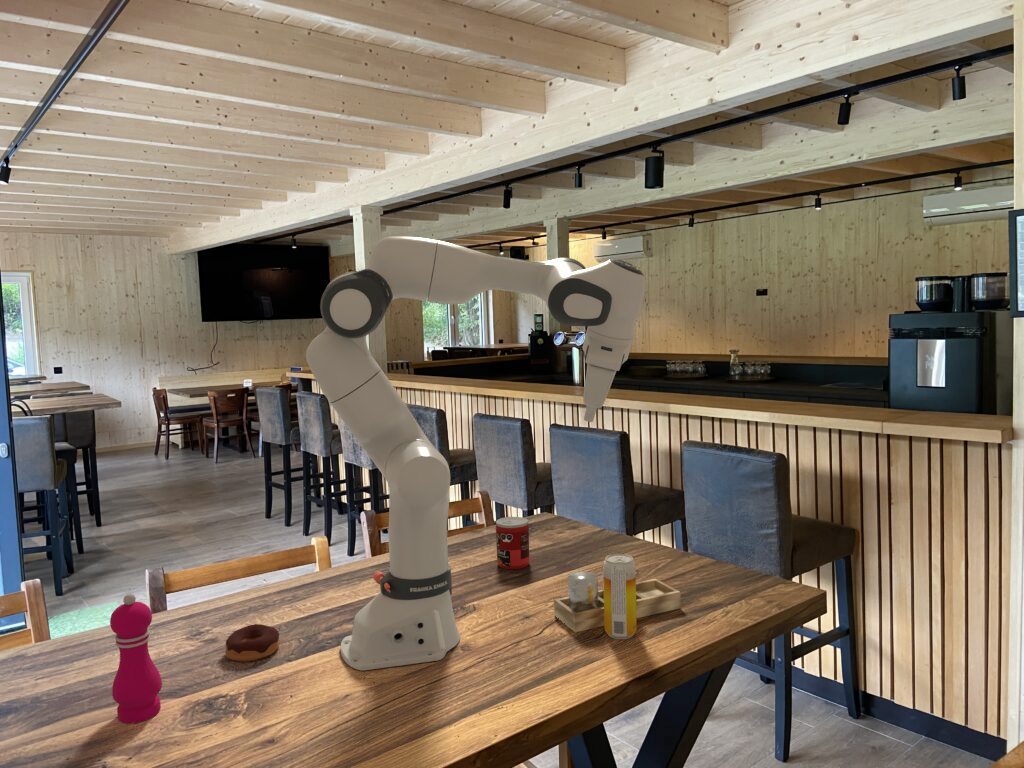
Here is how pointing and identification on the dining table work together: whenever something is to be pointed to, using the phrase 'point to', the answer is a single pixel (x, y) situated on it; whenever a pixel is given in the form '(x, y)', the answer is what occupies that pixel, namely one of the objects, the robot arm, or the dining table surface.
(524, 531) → the canned food
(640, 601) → the compartment tray
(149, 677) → the pepper mill
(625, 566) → the beer can
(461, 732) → the dining table surface
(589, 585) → the seated canisters
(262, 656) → the donut
